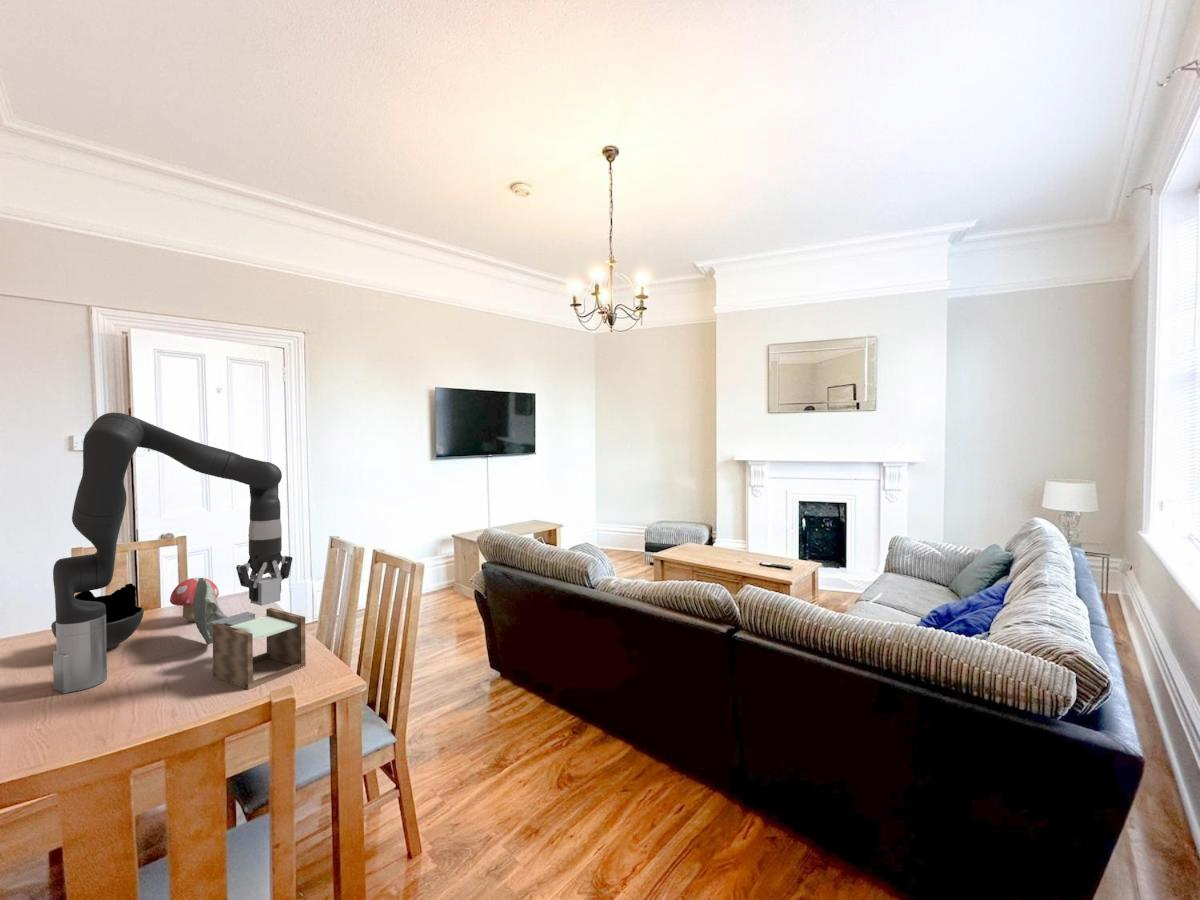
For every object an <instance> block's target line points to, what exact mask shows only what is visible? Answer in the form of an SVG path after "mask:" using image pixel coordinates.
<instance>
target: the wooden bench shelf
mask: <svg viewBox="0 0 1200 900" xmlns="http://www.w3.org/2000/svg"><path fill="white" fill-rule="evenodd" d="M265 614H266V615H265V616H270V617H274V618H278V619H281V620H285V621H289V622H292V623H296V624H297V627H295V628H292V629H289V630H286V631H283V632H280V633H277V634H274V635H271V636H268V637H266V652H264V653H260V654H259V655H255V656H253V655H254V654H253V653H254V646H253V642H254V641H253V634H252V633H249V632H245V631H242V630H239V629H236V628H232V627H229V626H226V625H223V624H219V623H215V624H213V643H212V676H213V677H215V678H218V679H219V680H223V681H225V682H228V683H230V684H233V685H236V686H239V687H240V688H243V689H246V690H251V689H254V688H256V687H258V686H261V685H264V684H266V683H268V682H271V681H273V680H276V679H278V678H280V677H283V676H285V674H286V675H288V674H291V673H293V672H295V670H296V671H297V669H298V670H300V669H302V668H301V667H303V666H305V665H306V616H303V615H299V614H295V613H292V612H288V611H284V610H280V609H277V608H273V607H269V608H268V607H267V608H266V613H265ZM268 658H271V659H274V660H277V661H279V662H283V663H285V664H288V665H290V666H287V667H284V668H283V669H280V670H278V671H275V672H272V673H270V674H269V673H268V674H267V675H265V676H262V677H259V678H258V679H257V678H256V679H255V680H254V664H255V663H258V662H260V661H263V660H265V659H268ZM305 667H306V666H305ZM299 668H300V669H299ZM303 668H304V667H303Z"/></svg>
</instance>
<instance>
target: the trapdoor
mask: <svg viewBox="0 0 1200 900" xmlns="http://www.w3.org/2000/svg"><path fill="white" fill-rule="evenodd" d="M215 623H219V624H223V625H226V626H229V627H232V628H236V629H239V630H242V631H245V632H249V633H252V634H253V642H255V641H258V640H261V639H264V638H265V639H266V638H267V637H268V636H271V635H274V634H277V633H280V632H283V631H286V630H289V629H292V628H295V627H297V624H296V623H292V622H289V621H285V620H281V619H278V618H274V617H270V616H266V615H264V616H261V617H257V618H256V613H253V612H249V611H245V612H240V613H237V614H234V615H230V616H227V617H226V618H223V619H219V620H215V621H212V622H209V636H210V637H213V624H215Z"/></svg>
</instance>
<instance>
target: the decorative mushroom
mask: <svg viewBox="0 0 1200 900" xmlns="http://www.w3.org/2000/svg"><path fill="white" fill-rule="evenodd" d="M199 578H200V577H191V578H189V579H185V580H184V581H181V582H180V583H179V584H177V585H176V587H175V588H174V589H173V591H172V593H171V594H170V597H169V603H170V604H171V605H174V606H177V607H178V606H179V607H181V606H182V618H183V619H185V620H186V621H188V622H192V623H193V622H195V620H194V609H193V604H194V595H195V591H196V587H197V583H198V580H199ZM204 578H205V580H207V581H209V582H210V583H211V585H212V587H213V590H214V593H215V596H216V599H218V597H219V595H220V594H219V593H220V592H219V591H220V590H219V589H218V587H217V585H216V584H215V583H214V582H213V581H212V580H210V579H208V578H206V577H204ZM195 623H196V622H195Z"/></svg>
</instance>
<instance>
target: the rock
mask: <svg viewBox="0 0 1200 900" xmlns="http://www.w3.org/2000/svg"><path fill="white" fill-rule="evenodd" d="M198 578H199V580H198V583H197V587H196V591H195V595H194V604H193V609H194V620H195V625H196V628H197V630H198V632H199V634H201V636H202V638H203V639H204V642H205V643H206V645H207V646H208V645H211V644H213V637H210V636H209V622H212V621H215V620H219V619H223V618H226V617H228V616H227V615H226V614H224V611H222V610H221V608H220V606H219V604H218V601H217V598H216V596H215V593H214V590H213V587H212V585H211V583H210V582H209V581H207V580H205V578H206V577H198Z"/></svg>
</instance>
